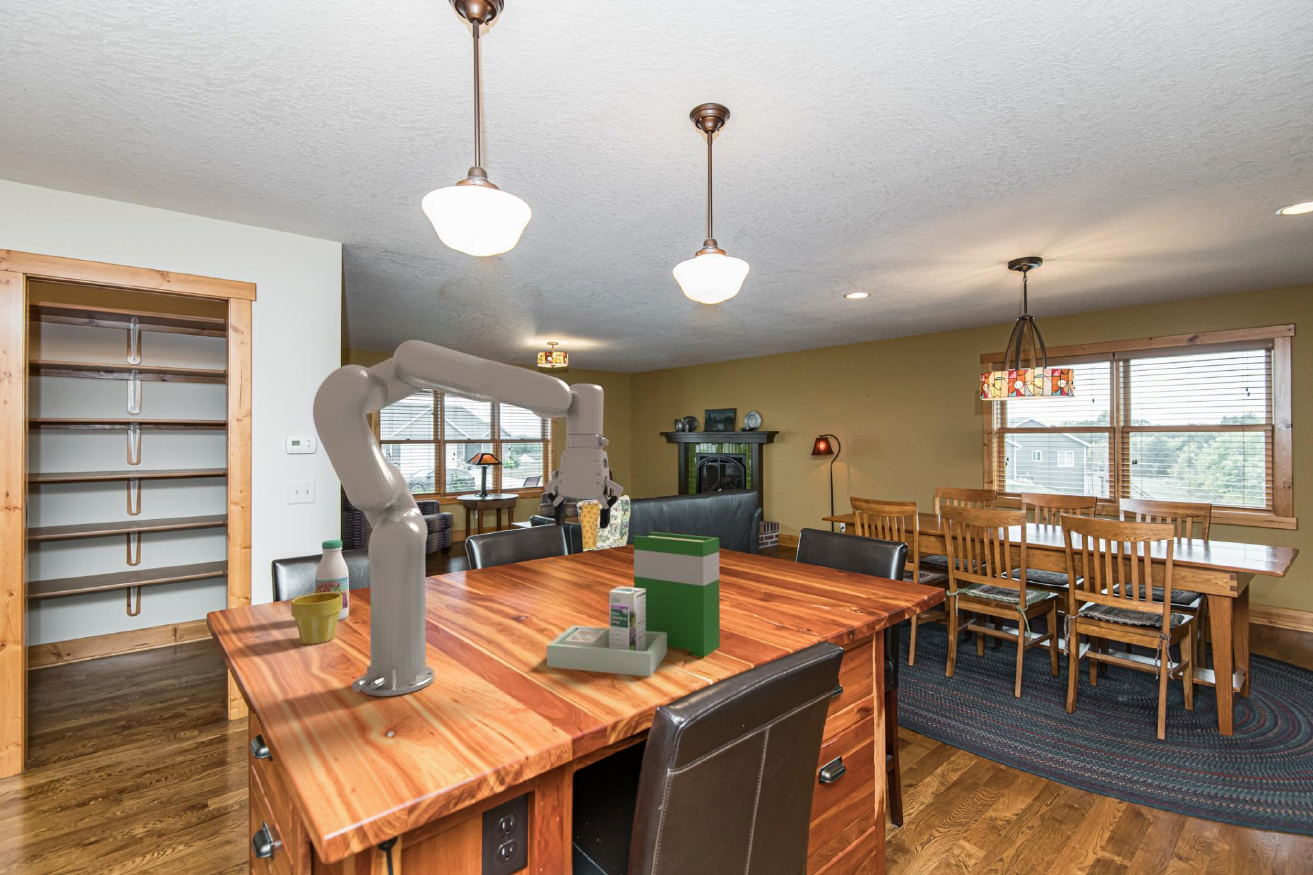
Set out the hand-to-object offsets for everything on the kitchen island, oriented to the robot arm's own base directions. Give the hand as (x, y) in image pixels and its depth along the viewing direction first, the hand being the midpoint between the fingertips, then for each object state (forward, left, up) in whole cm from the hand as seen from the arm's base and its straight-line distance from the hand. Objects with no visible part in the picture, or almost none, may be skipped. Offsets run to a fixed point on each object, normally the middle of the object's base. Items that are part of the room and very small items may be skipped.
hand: (582, 526), depth 122 cm
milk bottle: (+13, +74, -28) cm, 80 cm away
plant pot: (-2, +64, -28) cm, 70 cm away
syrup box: (0, -10, -27) cm, 29 cm away
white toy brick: (0, -1, -27) cm, 27 cm away
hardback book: (+14, -17, -28) cm, 35 cm away
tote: (0, -6, -28) cm, 28 cm away
